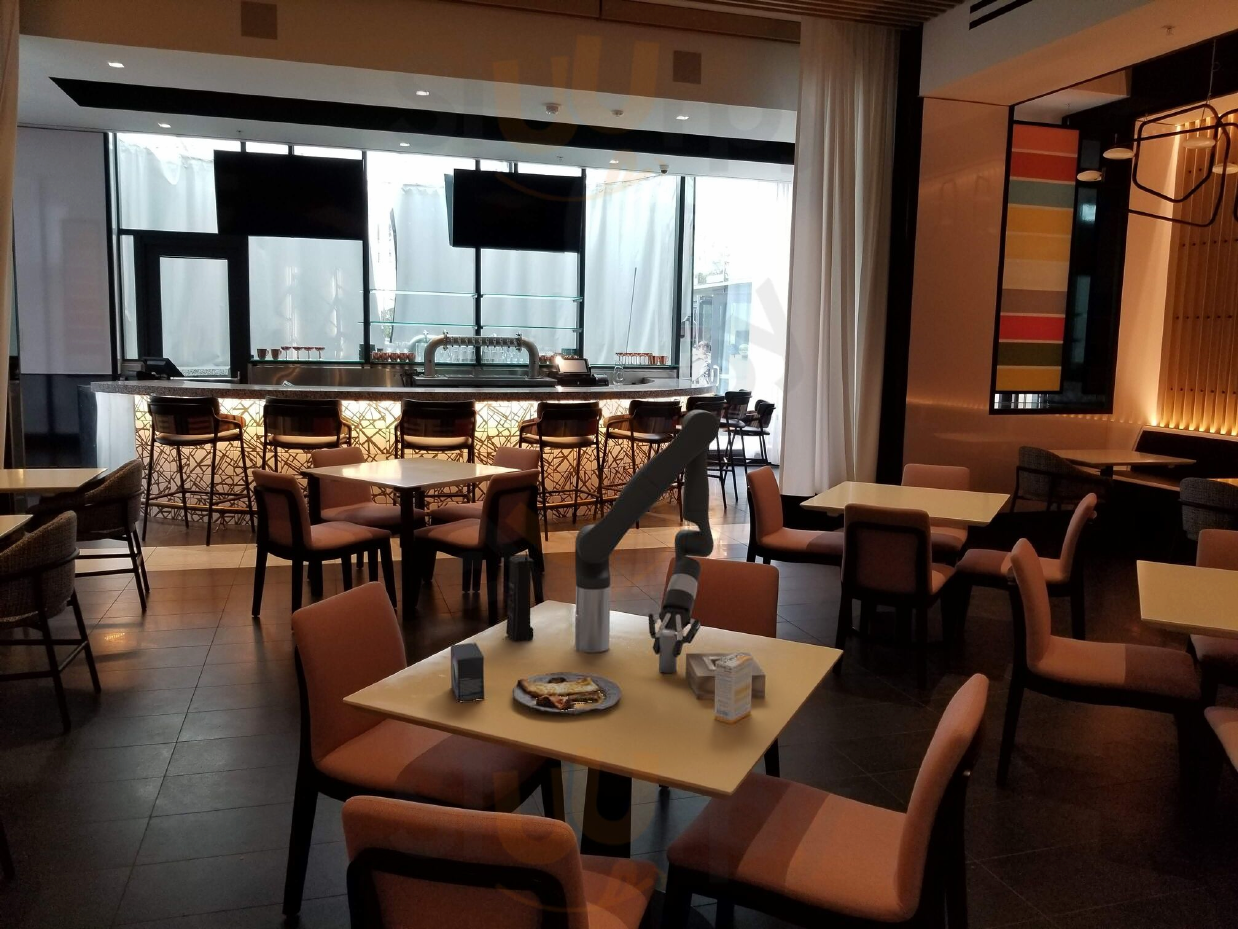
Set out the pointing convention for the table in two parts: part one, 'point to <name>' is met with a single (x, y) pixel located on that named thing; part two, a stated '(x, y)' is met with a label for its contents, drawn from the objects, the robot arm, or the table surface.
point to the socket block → (703, 674)
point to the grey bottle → (667, 651)
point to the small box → (467, 672)
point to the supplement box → (733, 687)
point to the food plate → (565, 691)
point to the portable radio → (519, 598)
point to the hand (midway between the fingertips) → (665, 654)
